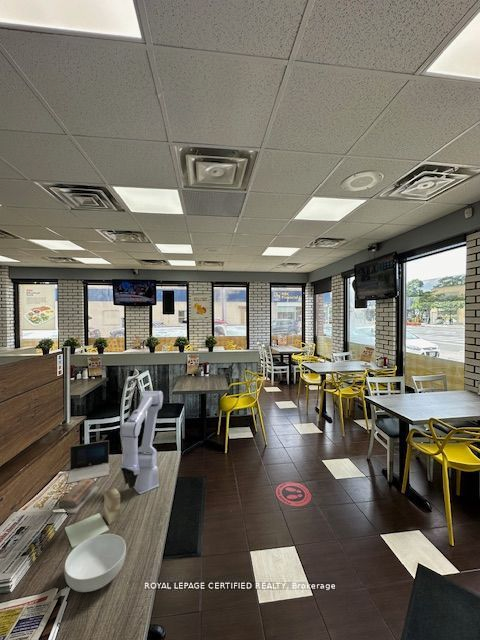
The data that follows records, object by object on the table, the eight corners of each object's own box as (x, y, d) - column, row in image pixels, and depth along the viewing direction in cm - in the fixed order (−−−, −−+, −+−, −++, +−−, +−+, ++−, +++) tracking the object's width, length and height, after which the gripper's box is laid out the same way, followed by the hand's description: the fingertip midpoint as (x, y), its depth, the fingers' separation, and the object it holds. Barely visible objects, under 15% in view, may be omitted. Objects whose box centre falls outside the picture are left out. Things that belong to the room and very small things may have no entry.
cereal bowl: (122, 595, 80) (122, 570, 80) (55, 612, 75) (55, 586, 75) (128, 548, 96) (128, 528, 96) (73, 560, 92) (73, 538, 92)
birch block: (114, 512, 115) (114, 487, 114) (120, 519, 110) (120, 494, 110) (104, 516, 112) (104, 491, 112) (109, 524, 107) (109, 498, 107)
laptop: (66, 484, 133) (66, 457, 133) (70, 471, 145) (70, 446, 145) (108, 476, 141) (108, 450, 141) (108, 464, 152) (108, 440, 152)
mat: (99, 513, 113) (99, 512, 113) (109, 530, 105) (109, 529, 105) (64, 528, 105) (64, 527, 105) (72, 548, 96) (72, 547, 96)
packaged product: (78, 477, 132) (99, 477, 131) (78, 487, 132) (99, 488, 131) (51, 501, 114) (75, 502, 113) (51, 513, 114) (75, 514, 113)
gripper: (114, 448, 118) (113, 480, 118) (127, 461, 108) (126, 497, 108) (130, 443, 123) (130, 474, 123) (144, 455, 112) (144, 489, 112)
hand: (130, 484), depth 116 cm, fingers open, 3 cm apart
